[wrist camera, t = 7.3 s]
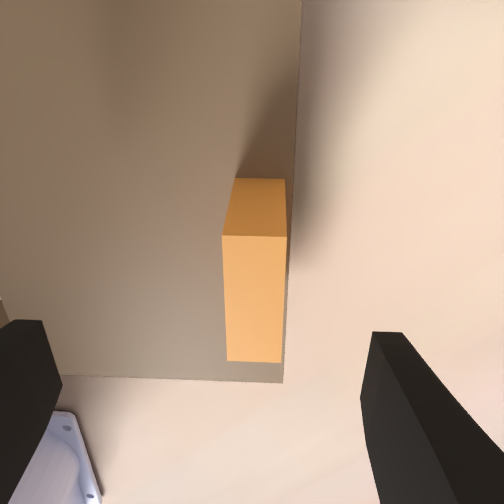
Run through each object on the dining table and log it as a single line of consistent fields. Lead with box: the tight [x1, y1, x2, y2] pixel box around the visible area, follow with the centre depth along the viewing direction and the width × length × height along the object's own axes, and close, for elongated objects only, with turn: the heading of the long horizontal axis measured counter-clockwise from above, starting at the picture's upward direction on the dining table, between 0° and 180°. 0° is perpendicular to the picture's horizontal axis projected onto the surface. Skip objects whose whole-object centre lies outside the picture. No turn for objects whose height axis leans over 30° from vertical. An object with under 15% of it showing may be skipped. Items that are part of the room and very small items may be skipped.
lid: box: [0, 0, 302, 383], centre depth 13 cm, size 13×10×4 cm
